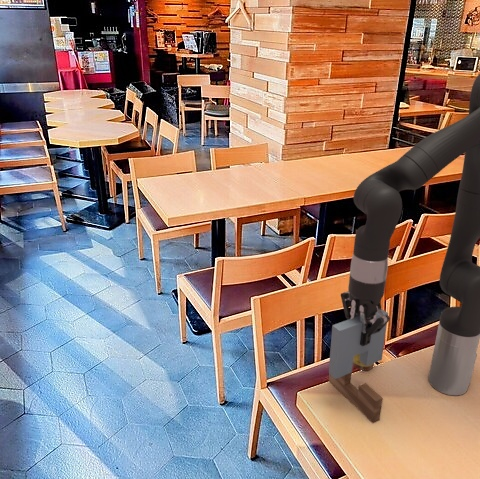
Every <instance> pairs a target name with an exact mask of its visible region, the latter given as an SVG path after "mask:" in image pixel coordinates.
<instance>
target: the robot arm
mask: <svg viewBox="0 0 480 479" xmlns="http://www.w3.org/2000/svg"><path fill="white" fill-rule="evenodd" d="M470 90H471V91H470V96H469V103H468V104H469V105H468V115H466V116H465V117H463V118H461V119H459V120H457V121H456V122H454V123H451V124H450V125H447V126H445V127H444V128H441V129H439V130H437V131H434V132H432V133H431V134H428V135H427V136H425V138H423V139H421V140H420V141H419V142H417V143H416V144H415V145H413V146H412V147H411V148H410V149H409V150H408V151H406V152H405V153H404V154H403V155H402V156H400V157H399V158H398V159H397V160H396V161H393V162H392V163H390V164H388V165H386V166H384V167H382V168H381V169H379V170H377V171H375V172H373V173H372V174H370V175H368V176H367V177H366V178H364V179H363V180H361V182H360V183H359V184H358V185H357V187H356V189H355V191H354V192H353V193H354V194H353V203H354V205H355V207H356V208H357V209H358V210H360V211H361V212H363V213H364V215H366V221H365V222H366V223H365V224H364V225H361V226H359V227H358V228H357V230H356V232H355V235H354V245H353V253H352V258H351V261H350V269H349V280H348V287H347V288H348V290H347V291H344V292H342V293H340V299H341V303H342V307H343V312H344V316H345V318H346V320H349V319H352V318H355V317H358V316H360V322H361V323H362V332H361V339H360V345H361V346H365V345H368V344H369V343H370V340H371V335H372V334H375V333H378V332H380V331H381V329H382V328H383V327H384V326H385V325H386V324H388V323H389V322H390V319H391V317H390V315H389V314H388V315H386V316H385V315H384V314H383V313H382V311H381V309H382V305H381V301H382V298H383V297H384V295H385V290H386V283H387V275H388V268H389V260H388V259H389V254H390V253H389V251H390V243H391V238H392V236H393V235H394V233H395V230H396V227H397V225H398V223H399V220H400V217H401V216H402V211H403V201H402V197H401V194H400V192H401V191H405V190H412V191H416V190H418V189H420V188H421V187H423V186H425V185H426V183H428V182H429V181H430V180H431V179H433V178H434V177H435V176H436V175H437V174H439V173H440V172H441V171H443V170H444V169H445V168H446V167H447V166H448V165H449V164H451V163H452V162H454V161H455V160H457V159H458V158H459V157H460V156H462V155H463V154H464V158H463V166H462V171H461V172H462V173H461V177H460V181H459V186H458V192H457V198H456V206H455V214H454V217H453V225H452V227H451V233H450V238H449V242H448V245H447V250H446V253H445V256H444V259H443V263H442V266H441V271H440V274H439V286H440V288H441V290H442V291H443V292H444V293H445V294H446V295H447V296H449V297H451V298H453V299H454V300H456V301H458V302H459V303H461V306H449V307H446V308H444V309H443V310H442V311H441V313H440V317H439V322H438V326H437V331H436V338H435V341H434V342H435V343H434V346H433V347H434V348H433V353H432V357H431V363H430V368H429V373H428V376H427V377H428V382H429V384H430V385H431V387H433V389H435V390H436V391H438V392H440V393H442V394H445V395H449V396H461V395H462V396H463V394H465V393H467V391H468V388H469V385H471V381H472V378H473V373H474V368H475V364H476V360H477V357H478V353H477V352H478V348H479V347H478V346H479V342H480V265H478V264H476V263H474V262H473V260H472V259H473V254H474V250H475V246H476V245H477V242H478V240H479V239H480V73H478V75H477V77H476V78H475V79H474V81H473V84H472V86H471V89H470ZM349 308H350V309H349ZM367 324H368V326H367Z"/></svg>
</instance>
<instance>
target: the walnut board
mask: <svg viewBox="0 0 480 479" xmlns="http://www.w3.org/2000/svg"><path fill="white" fill-rule="evenodd" d="M328 374H329V373H328ZM352 374H353V371H352V372H351V373H349V374H346V375H344V376H342V377H339V378H337V379H335V378H333V377H332V376H331V375H330V374H329V375H328V382H329V383H330V384H331V385H332V386H333V387H334V388H335V389H336V390H337V391H338V392H340V394H342V396H343V397H345V398H346V399H347V400H348V401H349V402H350V403H351V404H352V405H353V406H354V407H355V408H356V409H357V410H358V411H360V413H362V415H364V417H365V418H366V419H367V420H369V421H370V422H371V423H372V424H375V423H377V422H379V421H380V420H381V414H382V408H383V407H382V406H383V400H384V397H382V396H381V395H380V394H379V393H378V392H377V391H375V390H374V388H372V387H371V386H370V385H368V384H367V383H366V382H365V383H362V384H360V385H358V388H357V387H356V386H355V385H354V384H353V383H351V381H352Z"/></svg>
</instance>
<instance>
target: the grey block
mask: <svg viewBox="0 0 480 479" xmlns="http://www.w3.org/2000/svg"><path fill="white" fill-rule="evenodd" d="M381 311H382V313H383V314H384V315H385V316H386V315H388V316H389V312H387V311H385V309H383V308H381ZM387 324H388V323H387ZM387 324H386V325H385V326H384V327H383V328H382V329H381V331H380V332H378V333H375V334H372V335H371V340H370V343H369V344H368V345H365V346H361V345H360V339H361V332H362V323H361V322H360V316H358V317H355V318H352V319H346V320H343V321H341V322H338V323H335V324H332V327H331V339H330V340H331V341H330V352H329V365H328V374H330V375H331V376H332V377H333V378H335V379H337V378H339V377H342V376H344V375H346V374H349V373H351V372H352V373H353V367H354V366H353V357H354V356H356V355H358V354H360V361H361V362H362V363H363V364H365V365H366V366H368V365H370V364H373V363H374V364H375V363H377V362H380V361H382V360H383V354H384V347H385V346H384V345H385V340H386V331H387ZM367 326H368V324H367Z"/></svg>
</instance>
